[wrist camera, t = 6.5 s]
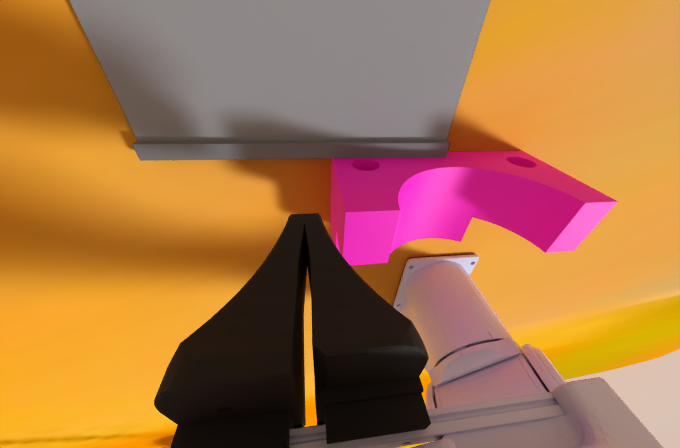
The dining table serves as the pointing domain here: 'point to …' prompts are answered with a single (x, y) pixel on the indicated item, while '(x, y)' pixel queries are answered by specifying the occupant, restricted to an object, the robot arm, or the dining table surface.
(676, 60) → the dining table surface
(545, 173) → the toy block
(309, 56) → the rubber mat
